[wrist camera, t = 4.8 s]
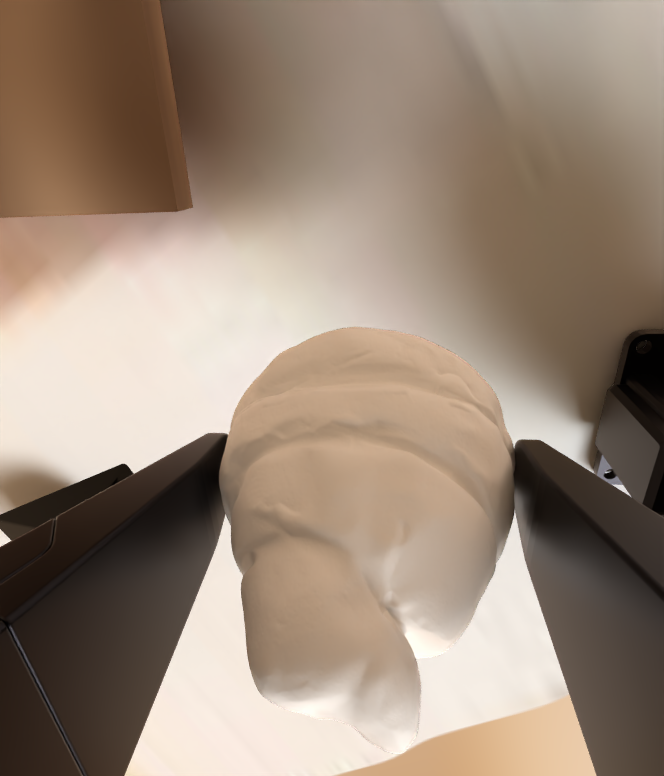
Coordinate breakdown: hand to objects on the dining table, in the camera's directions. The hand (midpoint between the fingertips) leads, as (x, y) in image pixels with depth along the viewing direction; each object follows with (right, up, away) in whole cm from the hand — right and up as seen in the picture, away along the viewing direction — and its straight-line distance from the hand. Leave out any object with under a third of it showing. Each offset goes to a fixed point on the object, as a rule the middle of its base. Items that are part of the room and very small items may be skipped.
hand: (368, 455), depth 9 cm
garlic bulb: (0, +1, +1) cm, 2 cm away
